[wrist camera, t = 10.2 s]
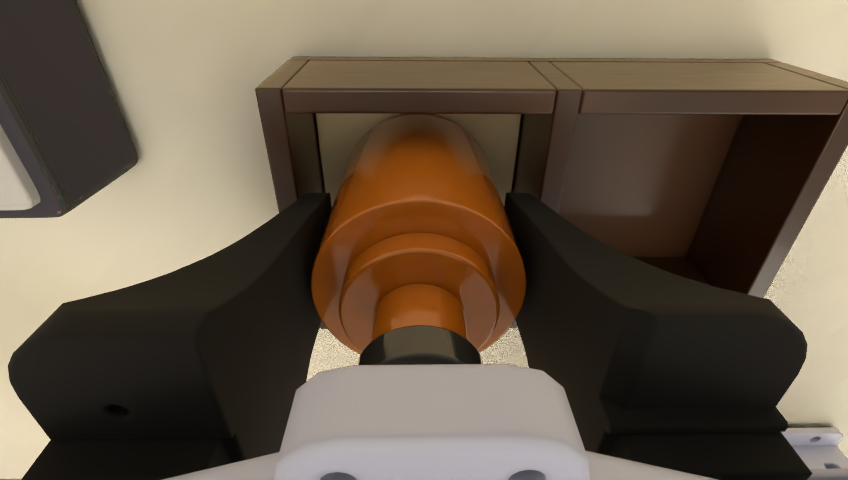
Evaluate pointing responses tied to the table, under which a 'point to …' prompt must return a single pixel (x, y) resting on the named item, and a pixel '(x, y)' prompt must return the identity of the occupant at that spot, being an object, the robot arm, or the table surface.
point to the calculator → (54, 112)
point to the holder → (595, 144)
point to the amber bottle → (418, 249)
